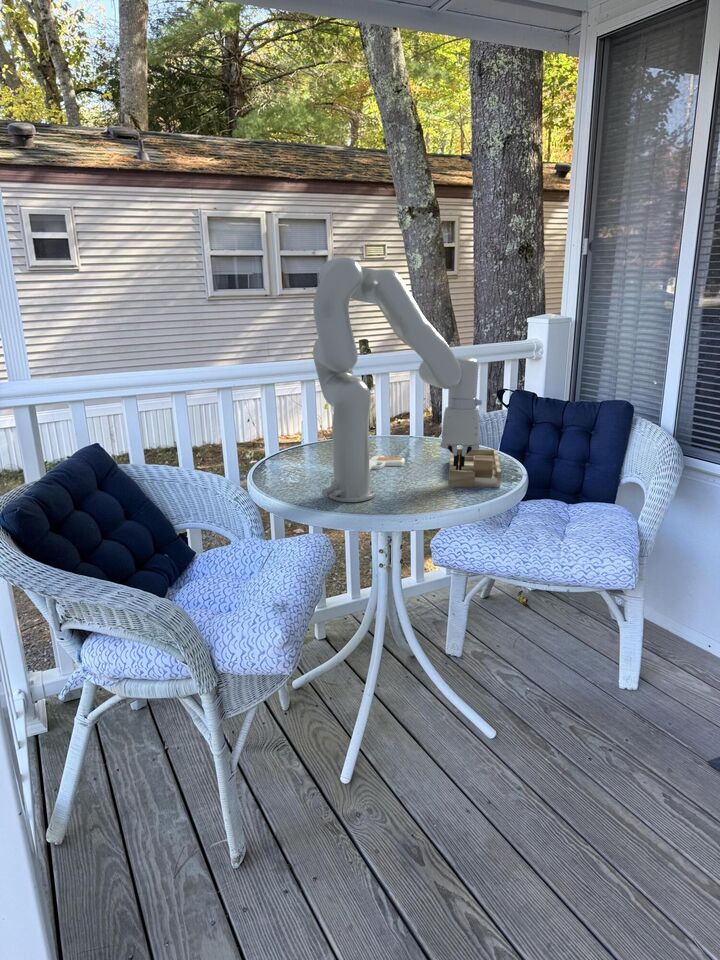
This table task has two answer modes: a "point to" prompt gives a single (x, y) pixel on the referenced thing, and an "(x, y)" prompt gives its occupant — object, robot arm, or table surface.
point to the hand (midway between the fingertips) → (458, 468)
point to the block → (483, 466)
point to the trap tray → (467, 474)
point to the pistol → (384, 462)
